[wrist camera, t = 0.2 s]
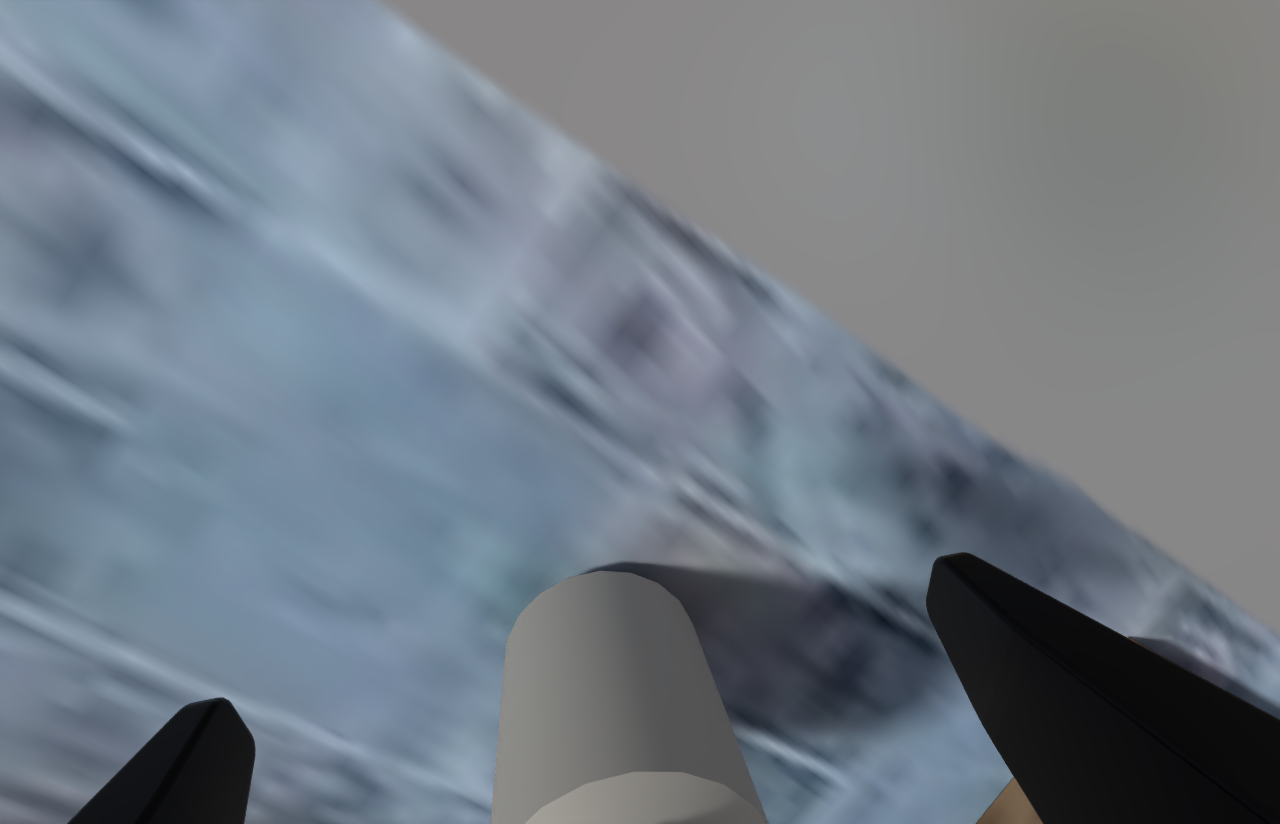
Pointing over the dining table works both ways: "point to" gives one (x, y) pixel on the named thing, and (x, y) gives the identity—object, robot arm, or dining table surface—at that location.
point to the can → (614, 714)
